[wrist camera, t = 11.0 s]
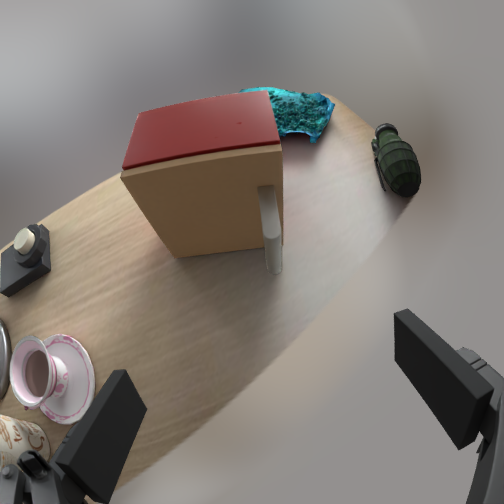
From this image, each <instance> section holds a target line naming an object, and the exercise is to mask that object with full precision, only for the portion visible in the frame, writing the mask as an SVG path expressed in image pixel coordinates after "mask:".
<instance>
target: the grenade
mask: <svg viewBox="0 0 504 504" xmlns="http://www.w3.org/2000/svg"><path fill="white" fill-rule="evenodd" d="M375 136H376V137H375V139H373V141H372V142H371V144H372V149H373V151H374V152H375V156H377V157H376V159H375V160H374V161H375V164H376V168H377V171H378V175H379V178H380V182H381V186H382V188H383V189H384V191H386V190H385V188H384V184H383V181H382V177H381V174H380V170H379V167H378V164H377V161H378V162H379V165H380V169H381V171H382V172H383V174H384V178H385V180H386V182H387V183H388V184H389V186H390V187H391V189H392V190H393V191H394V192H395V193H397V194H398V195H399V196H401V197H410V196H413V195H414V194H416V193H417V192H418V190H419V186H420V184H421V173H420V166H419V164H418V160H417V158H416V155H415V153H414V152H413V149H412V147H411V146H410V145H409V144H408V143H406V142H404V141H402V140H401V138H400V137H399V136H398V131H397V129H396V128H395V127H394V126H393V125H391V124H388V123H386V124H382V125H380V126H378V128H377V129H376V131H375Z"/></svg>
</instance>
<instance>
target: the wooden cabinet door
mask: <svg viewBox="0 0 504 504" xmlns="http://www.w3.org/2000/svg"><path fill="white" fill-rule="evenodd" d="M120 178H121V180H122V182H123V183H124V185H125V186H126V188H127V189H128V191H129V192H130V194H131V196H132V197H133V199H134V200H135V202H136V203H137V205H138V206H139V208H140V209H141V211H142V212H143V214H144V215H145V217H146V218H147V220H148V221H149V223H150V224H151V226H152V227H153V228H154V230H155V231H156V233H157V234H158V236H159V237H160V239H161V240H162V241H163V243H164V244H165V246H166V247H167V249H168V250H169V251H170V253H171V254H172V256H173V257H174V258H180V257H189V256H197V255H205V254H213V253H222V252H230V251H238V250H246V249H255V248H263V247H264V248H265V256H266V264H267V271H268V272H269V273H270V274H271V275H277V274H279V273H280V272H281V269H282V253H281V245H283V155H282V147H281V144H277V145H268V146H259V147H251V148H243V149H235V150H228V151H221V152H215V153H209V154H202V155H197V156H191V157H185V158H180V159H175V160H170V161H165V162H160V163H155V164H150V165H146V166H141V167H137V168H133V169H128V170H124V171H122V173H121V177H120Z"/></svg>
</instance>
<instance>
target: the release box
mask: <svg viewBox="0 0 504 504" xmlns="http://www.w3.org/2000/svg"><path fill="white" fill-rule="evenodd" d="M27 229H28V230H30V231H31V232H32V233H33V234H34V235H35V242H34V244H33V247H32V248H31V250H30V251H29V252H28V253H27V254H25V255H23V254H21V253H20V252H19V251H17V250H16V249H15V248H14V244H13V245H12V246H10V247H9V248H8V249H6V250H5V251H4V252H2V253H1V267H0V293H1V294H3V295H5V296H7V297H8V298H9V297H10V296H12V295H13V294H15V293H16V292H18V291H19V290H21V289H22V288H24V287H25V286H27V285H29V284H30V283H32V282H33V281H35V280H36V279H38V278H40V277H41V276H43V275H44V274H46V273H48V272H49V271H51V263H50V245H49V230H48V229H47V228H45V227H44V226H43V225H42V224H41V225H39V226H38V225H37V224H34V225H29V226H28V227H27Z"/></svg>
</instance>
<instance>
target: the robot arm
mask: <svg viewBox="0 0 504 504" xmlns="http://www.w3.org/2000/svg"><path fill="white" fill-rule="evenodd" d="M394 337H395V361H396V363H397V364H398V365H399V367H400V368H401V369H402V371H403V372H404V373H405V375H406V376H407V377H408V379H409V380H410V382H411V383H412V384H413V386H414V387H415V388H416V390H417V391H418V393H419V394H420V395H421V397H422V398H423V400H424V401H425V402H426V404H427V405H428V406H429V408H430V409H431V411H432V412H433V414H434V415H435V416H436V418H437V419H438V421H439V422H440V424H441V425H442V427H443V428H444V430H445V431H446V432H447V434H448V435H449V437H450V438H451V440H452V441H453V443H454V444H455V446H456V447H457V449H458V450H460V449H462V448H464V447H466V446H467V445H469V444H471V443H472V442H474V441H475V439H476V437H477V435H478V433H479V431H480V433H481V434H482V435H483V439H482V442H481V444H480V446H479V448H478V450H477V452H476V453H479V452H480V453H479V458H478V462H477V467H476V471H475V474H474V478H473V482H472V485H471V489H470V492H469V495H468V498H467V501H466V504H504V378H503V377H502V376H501V375H500V374H499V373H498V372H497V371H496V370H494V369H493V368H492V367H491V366H490V365H487V362H485V361H484V360H483V359H481V357H480V356H478V355H477V354H476V353H475V352H474V351H472V350H469V349H467V348H464V347H463V348H461V349H459V350H457V351H455V350H454V349H453V348H452V347H451V346H450V345H449V344H447V343H446V342H445V341H444V340H443V339H442V338H441V337H440V336H439V335H437V334H436V333H435V332H434V331H433V330H432V329H431V328H430V327H428V326H427V325H426V324H425V323H424V322H423V321H422V320H420V319H419V318H418V317H417V316H416V315H415V314H413V313H412V312H411V311H410V310H409V309H405V310H402V311H399V312H396V313H394ZM11 357H12V352H11V343H10V338H9V334H8V331H7V328H6V326H5V324H4V323H3V321H2V320H1V319H0V400H1V399H2V397H3V396H4V394H5V392H6V390H7V387H8V384H9V380H10V362H11ZM146 411H147V408H146V406H145V404H144V403H143V401H142V399H141V397H140V395H139V394H138V392H137V390H136V388H135V386H134V384H133V382H132V381H131V379H130V377H129V375H128V373H127V371H126V369H123V370H114V371H113V372H112V374H111V375H110V377H109V378H108V379H107V381H106V382H105V384H104V385H103V387H102V388H101V390H100V391H99V393H98V394H97V396H96V397H95V399H94V400H93V402H92V403H91V405H90V406H89V408H88V409H87V411H86V412H85V414H84V415H83V417H82V419H81V420H80V422H78V423H76V424H75V425H74V426H73V427H72V428H71V429H70V430H69V432H68V433H67V435H66V438H64V439H63V441H62V443H61V444H60V446H59V447H58V449H57V450H56V452H55V454H54V455H53V457H52V458H51V460H50V462H49V463H48V462H47V461H46V460H45V459H44V458H43V457H42V455H41V454H40V453H39V452H38V451H37V450H34V449H30V450H27V451H25V452H23V453H22V454H21V455H20V456H19V458H18V459H17V465H18V466H19V467H20V468H21V469H22V470H23V471H24V472H22V471H21V470H20V469H19V468H18V467H17V466H16V465H14V464H9V465H6V466H4V467H3V468H2V470H1V471H0V504H22V502H23V503H24V504H88V503H87V501H86V500H85V499H84V498H85V495H88V496H89V497H90V498H91V499H92V500H93V501H94V502H98V503H103V504H109V502H110V499H111V496H112V494H113V491H114V489H115V486H116V484H117V481H118V479H119V476H120V474H121V471H122V469H123V466H124V464H125V461H126V459H127V456H128V454H129V451H130V449H131V447H132V444H133V442H134V439H135V437H136V435H137V432H138V430H139V428H140V425H141V423H142V420H143V418H144V416H145V413H146Z"/></svg>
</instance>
